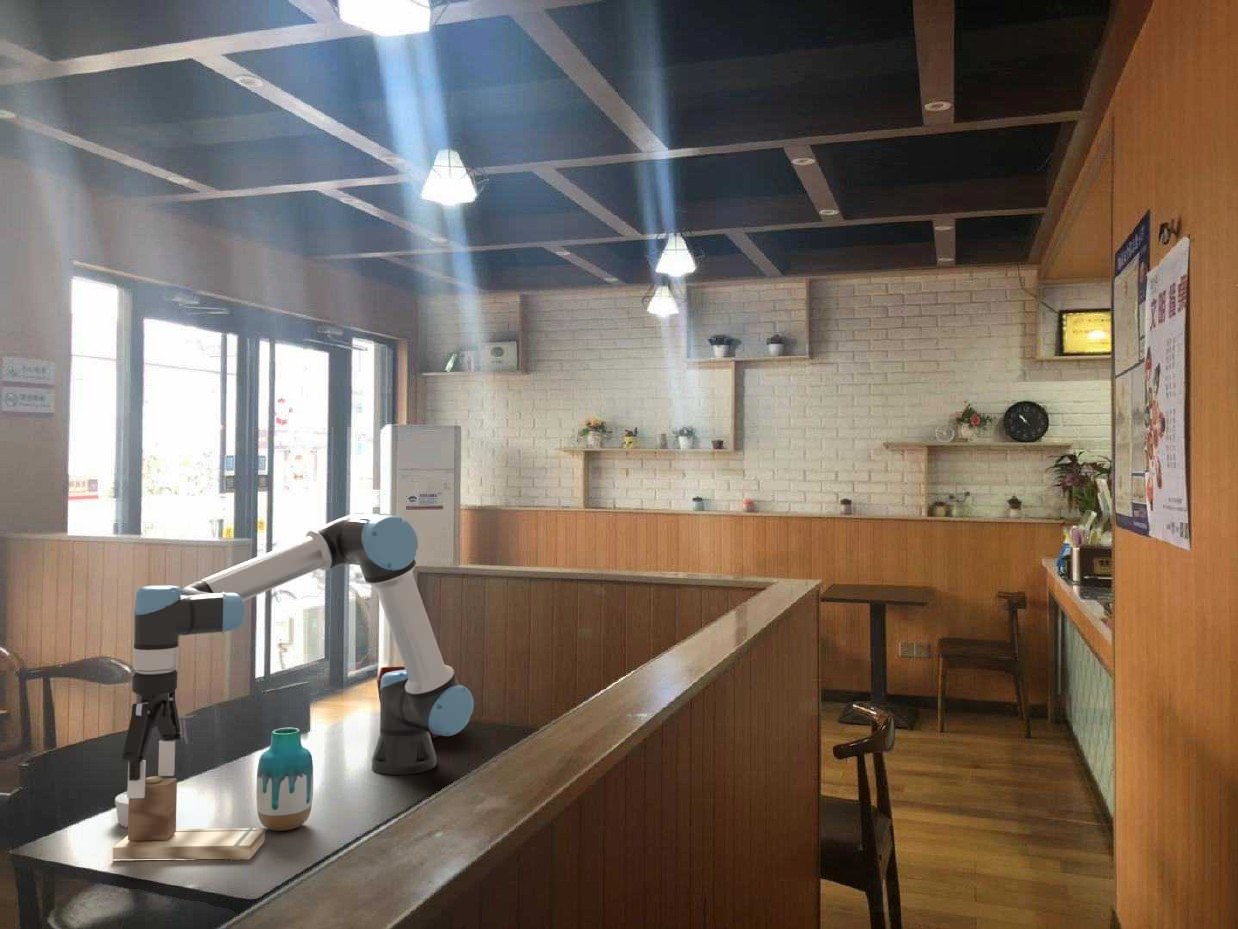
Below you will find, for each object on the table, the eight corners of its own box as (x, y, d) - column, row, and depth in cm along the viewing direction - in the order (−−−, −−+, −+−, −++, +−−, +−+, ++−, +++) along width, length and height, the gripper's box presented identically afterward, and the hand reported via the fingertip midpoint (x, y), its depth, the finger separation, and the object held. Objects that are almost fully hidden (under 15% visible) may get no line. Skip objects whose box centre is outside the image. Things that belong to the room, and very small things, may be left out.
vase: (280, 842, 185) (281, 740, 185) (244, 831, 191) (245, 732, 191) (324, 825, 194) (325, 729, 194) (288, 815, 200) (290, 721, 200)
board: (264, 841, 185) (264, 827, 185) (249, 859, 176) (250, 845, 176) (134, 843, 184) (134, 829, 184) (112, 861, 175) (113, 847, 175)
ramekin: (160, 808, 204) (160, 782, 204) (186, 820, 197) (186, 794, 197) (104, 822, 195) (104, 795, 195) (129, 835, 188) (130, 807, 188)
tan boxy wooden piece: (182, 825, 185) (184, 769, 185) (167, 840, 178) (168, 781, 178) (145, 826, 185) (146, 770, 185) (127, 840, 177) (129, 782, 177)
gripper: (161, 658, 192) (157, 767, 192) (103, 683, 167) (99, 808, 167) (200, 658, 193) (197, 767, 192) (148, 683, 168) (144, 808, 167)
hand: (151, 786), depth 179 cm, fingers open, 13 cm apart
